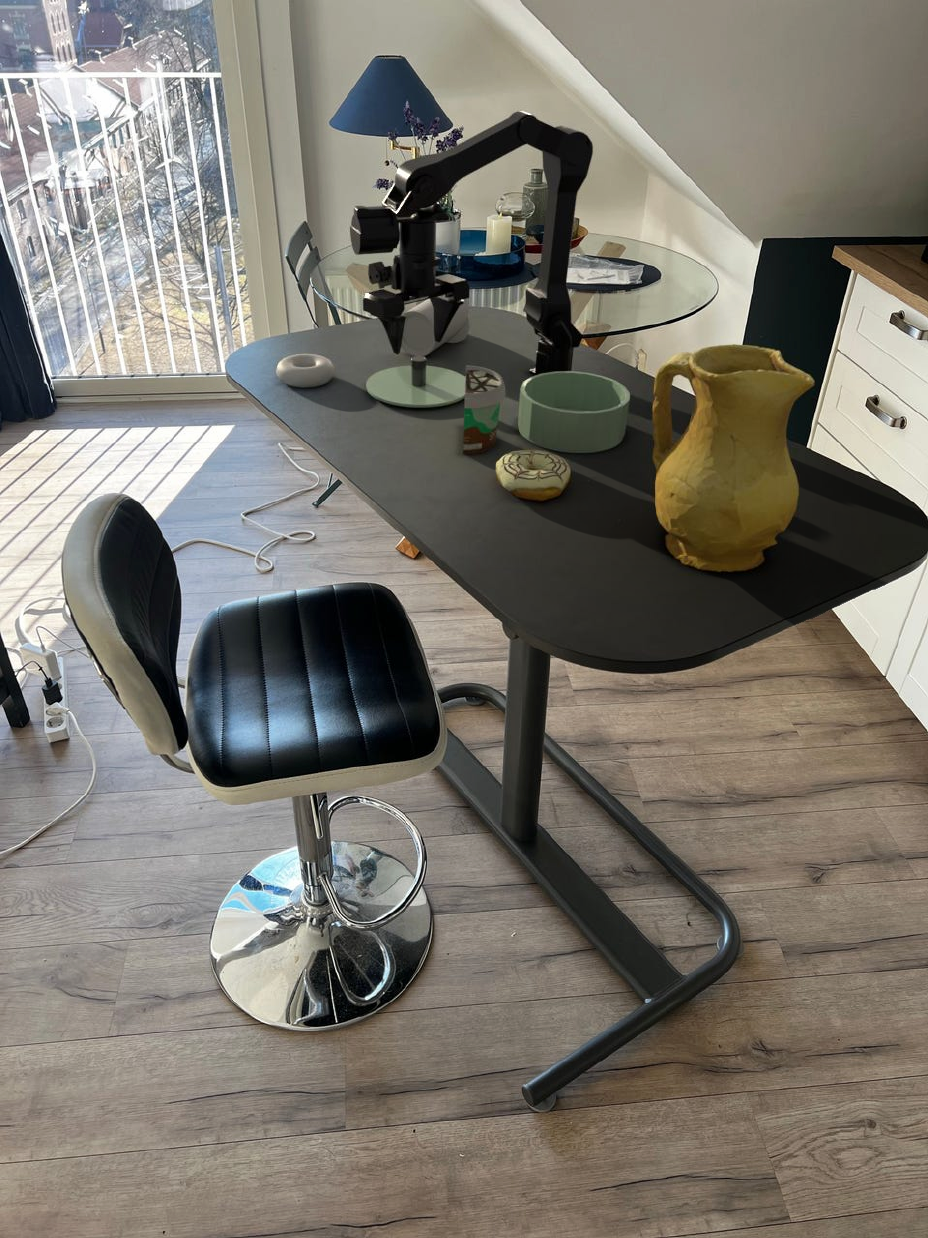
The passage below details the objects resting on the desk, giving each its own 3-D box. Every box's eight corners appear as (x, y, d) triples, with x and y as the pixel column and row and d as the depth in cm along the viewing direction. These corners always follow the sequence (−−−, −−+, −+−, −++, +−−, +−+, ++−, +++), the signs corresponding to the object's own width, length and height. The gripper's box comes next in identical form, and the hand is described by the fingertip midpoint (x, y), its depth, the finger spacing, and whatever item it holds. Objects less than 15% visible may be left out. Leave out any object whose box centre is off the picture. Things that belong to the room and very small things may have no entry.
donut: (328, 393, 156) (340, 370, 164) (326, 373, 154) (339, 352, 162) (270, 389, 157) (285, 367, 165) (268, 369, 155) (283, 348, 163)
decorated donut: (499, 504, 126) (500, 479, 124) (492, 468, 135) (493, 445, 133) (574, 503, 127) (576, 479, 125) (562, 468, 135) (564, 444, 133)
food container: (503, 459, 137) (507, 396, 131) (462, 458, 137) (464, 394, 131) (501, 425, 147) (505, 365, 141) (463, 424, 147) (465, 363, 141)
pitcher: (699, 594, 109) (741, 388, 95) (616, 527, 123) (642, 339, 110) (811, 570, 115) (865, 373, 101) (720, 509, 129) (757, 329, 116)
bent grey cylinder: (497, 339, 177) (438, 311, 189) (490, 286, 169) (430, 261, 182) (422, 376, 170) (367, 344, 183) (412, 323, 163) (355, 293, 176)
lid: (422, 363, 169) (423, 333, 165) (492, 392, 158) (493, 361, 155) (345, 387, 158) (343, 355, 155) (413, 420, 148) (413, 387, 145)
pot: (565, 400, 157) (569, 363, 153) (645, 432, 147) (652, 394, 143) (496, 426, 147) (498, 388, 143) (577, 463, 137) (581, 422, 133)
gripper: (427, 231, 155) (426, 324, 164) (339, 248, 144) (343, 346, 153) (473, 245, 148) (469, 340, 157) (384, 264, 138) (386, 365, 147)
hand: (417, 347), depth 154 cm, fingers open, 9 cm apart
